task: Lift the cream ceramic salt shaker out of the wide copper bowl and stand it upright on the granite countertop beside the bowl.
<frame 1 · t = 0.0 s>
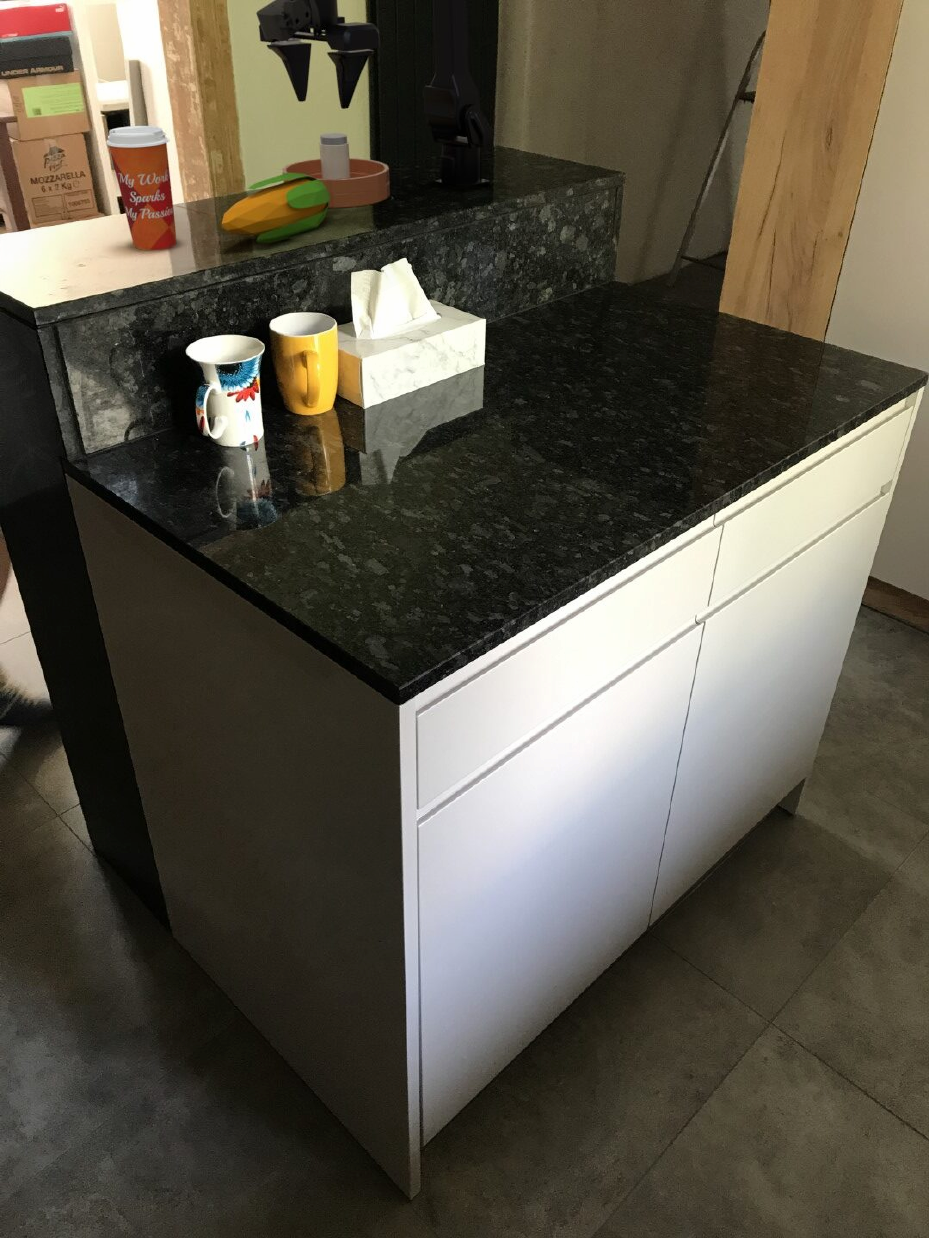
hand: (323, 105, 139), 15 cm above the countertop, tool pointing down, fingers open, 9 cm apart
paper cup: (156, 246, 134), on the countertop
shaker: (337, 195, 155), point 1 cm above the countertop, touching bowl
bowl: (337, 199, 155), on the countertop
corn: (280, 238, 137), on the countertop
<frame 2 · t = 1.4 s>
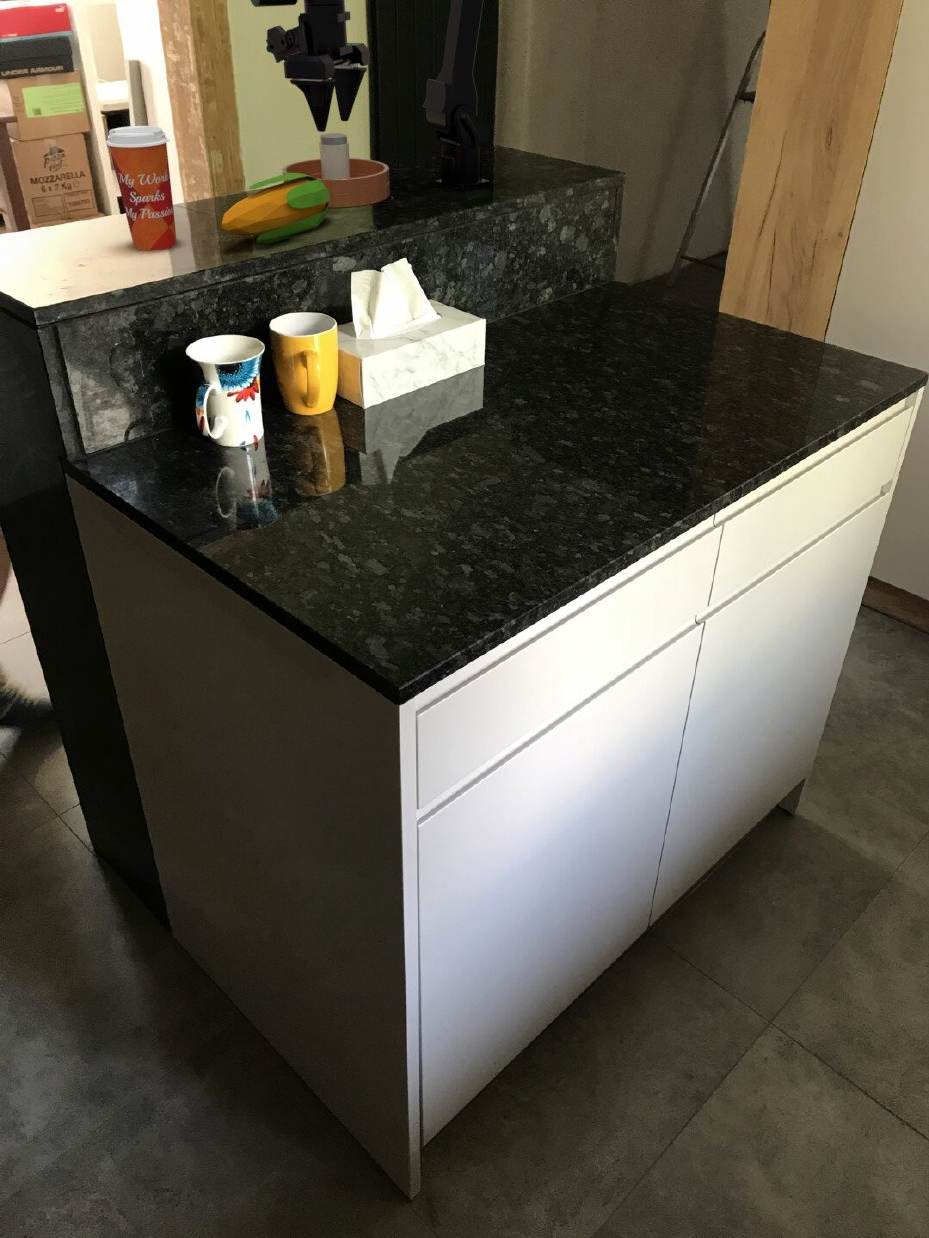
hand: (333, 126, 149), 10 cm above the countertop, tool pointing down, fingers open, 9 cm apart
nothing on the countertop moved.
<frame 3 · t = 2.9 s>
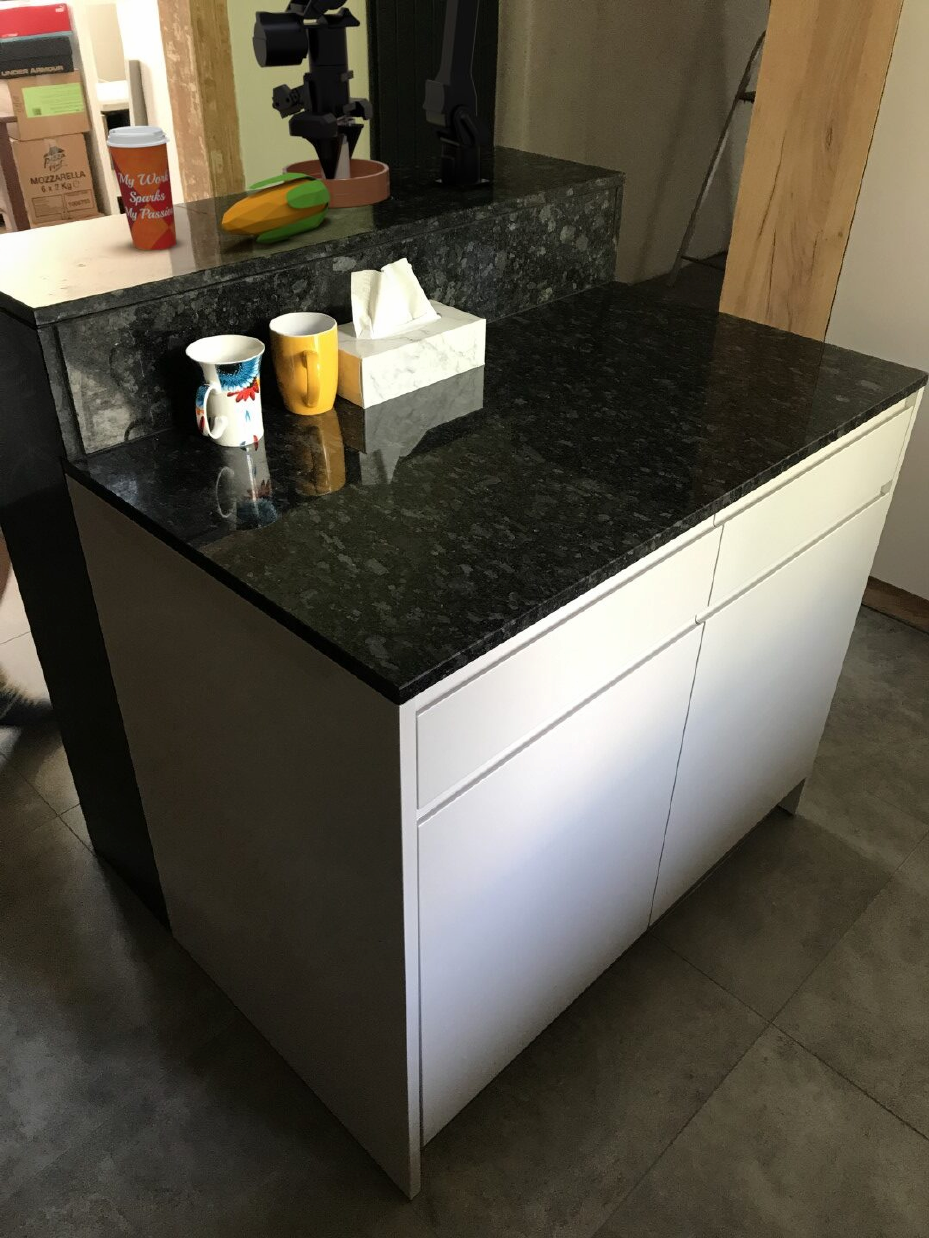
hand: (336, 178, 154), 3 cm above the countertop, tool pointing down, fingers closed on shaker, 4 cm apart
shaker: (337, 195, 155), point 1 cm above the countertop, touching bowl, gripper
everything else where it was.
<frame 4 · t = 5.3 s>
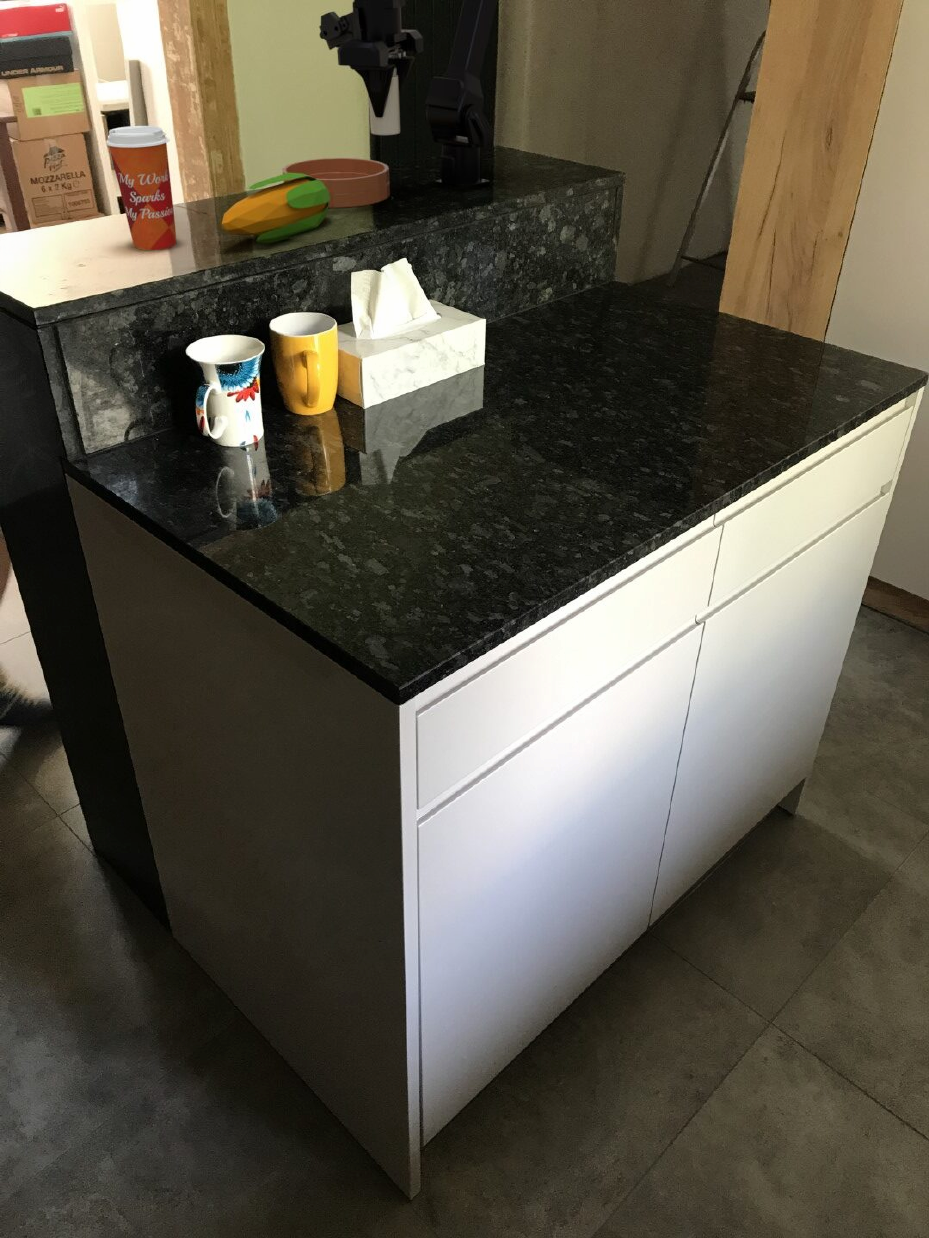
hand: (385, 114, 147), 12 cm above the countertop, tool pointing down, fingers closed on shaker, 4 cm apart
shaker: (385, 132, 148), point 10 cm above the countertop, touching gripper
everything else where it was.
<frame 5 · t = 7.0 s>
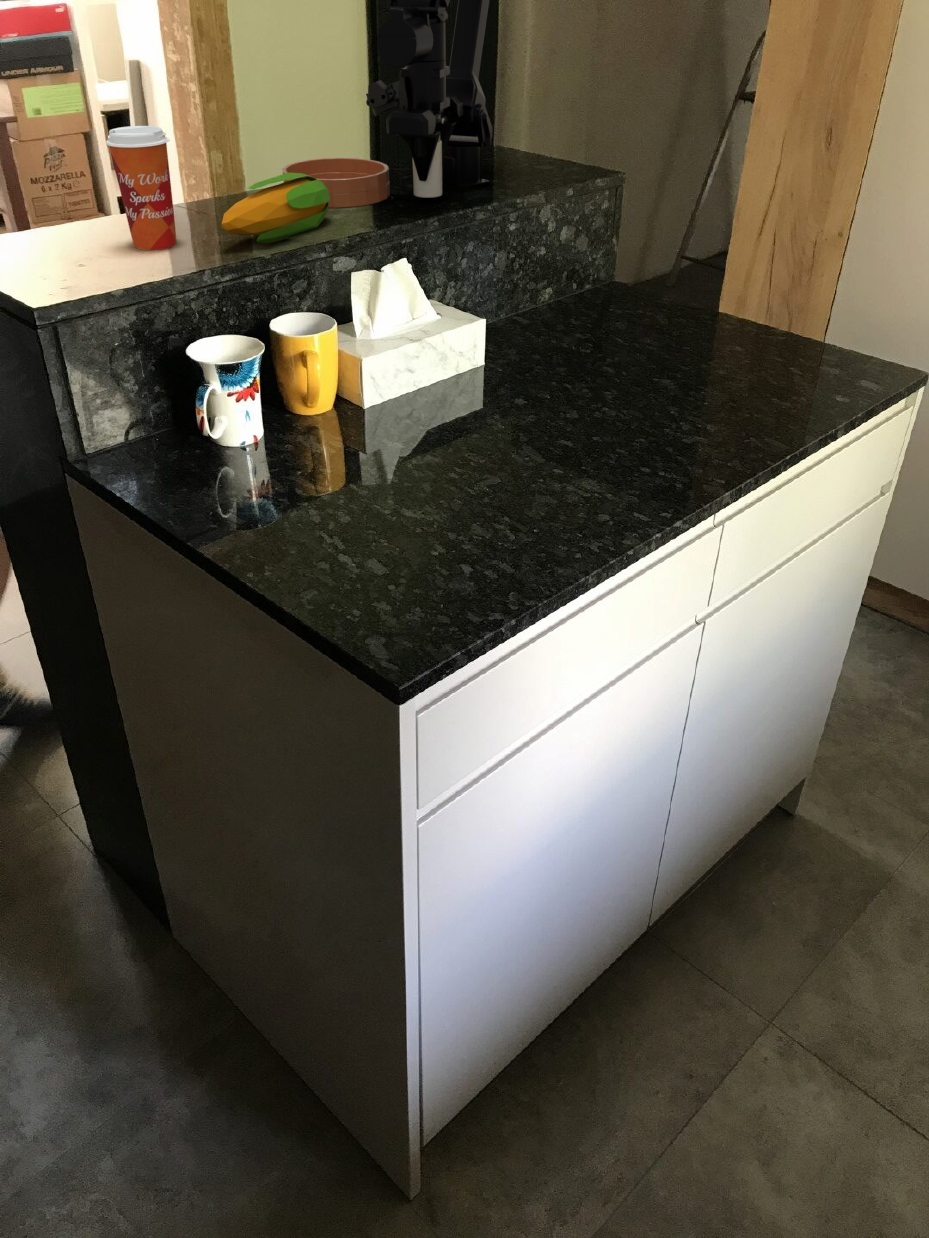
hand: (427, 177, 150), 4 cm above the countertop, tool pointing down, fingers closed on shaker, 4 cm apart
shaker: (428, 194, 151), point 2 cm above the countertop, touching gripper
everything else where it was.
when the fingers open (2 cm above the countertop, at t = 7.9 s): shaker stays where it is, on the countertop.
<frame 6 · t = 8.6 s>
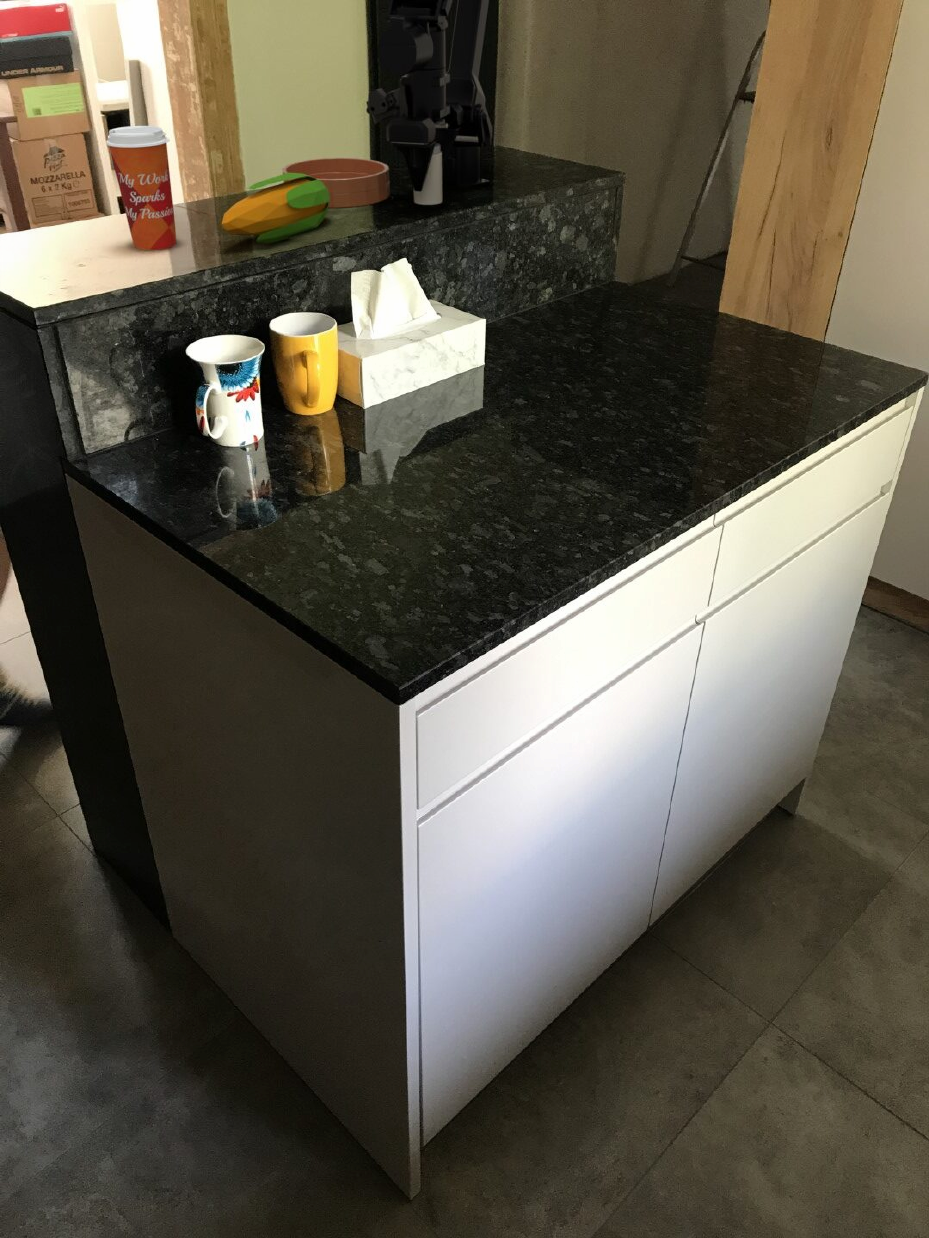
hand: (427, 184, 151), 3 cm above the countertop, tool pointing down, fingers open, 9 cm apart
shaker: (428, 205, 152), on the countertop
everything else where it was.
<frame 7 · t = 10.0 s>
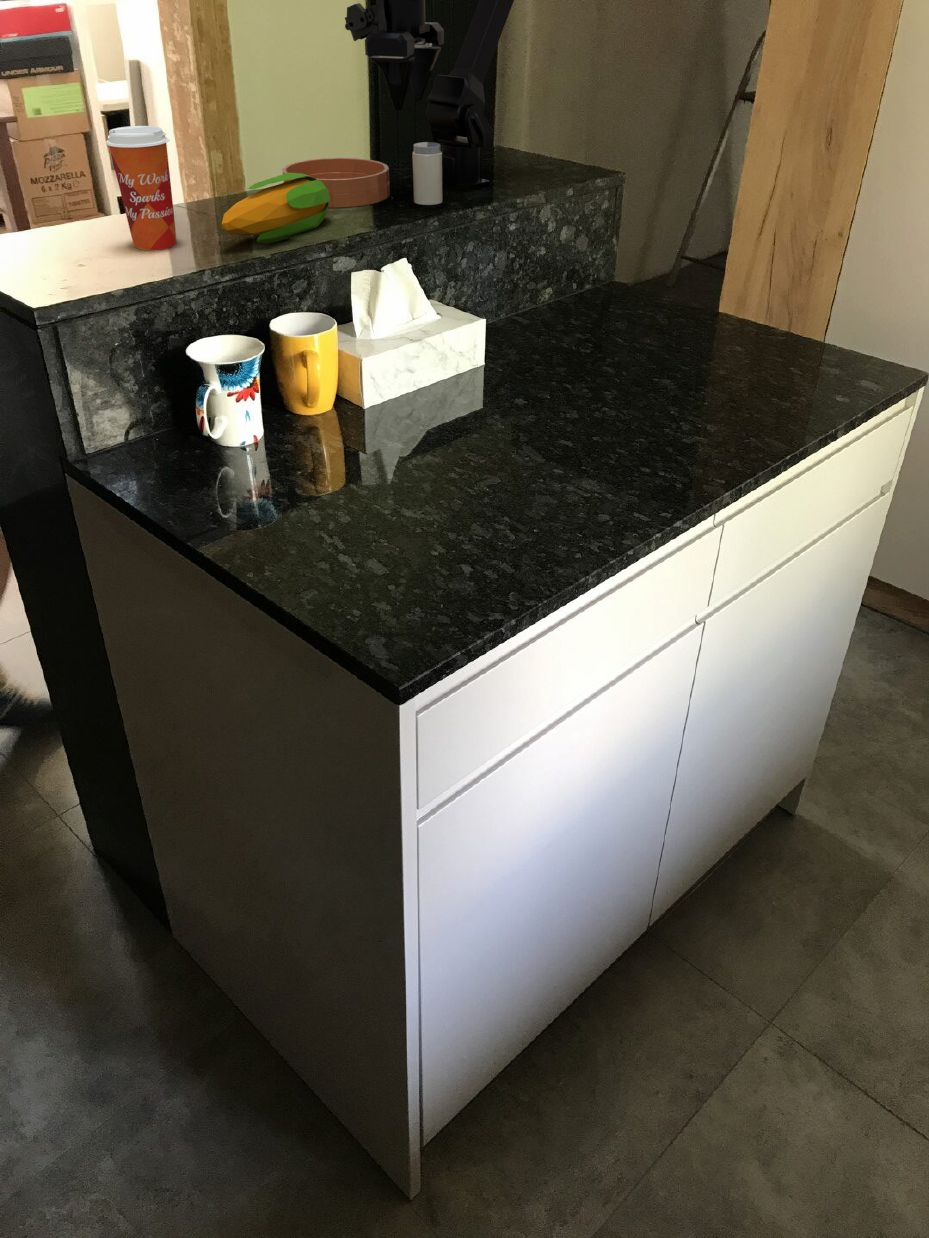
hand: (408, 105, 149), 13 cm above the countertop, tool pointing down, fingers open, 9 cm apart
nothing on the countertop moved.
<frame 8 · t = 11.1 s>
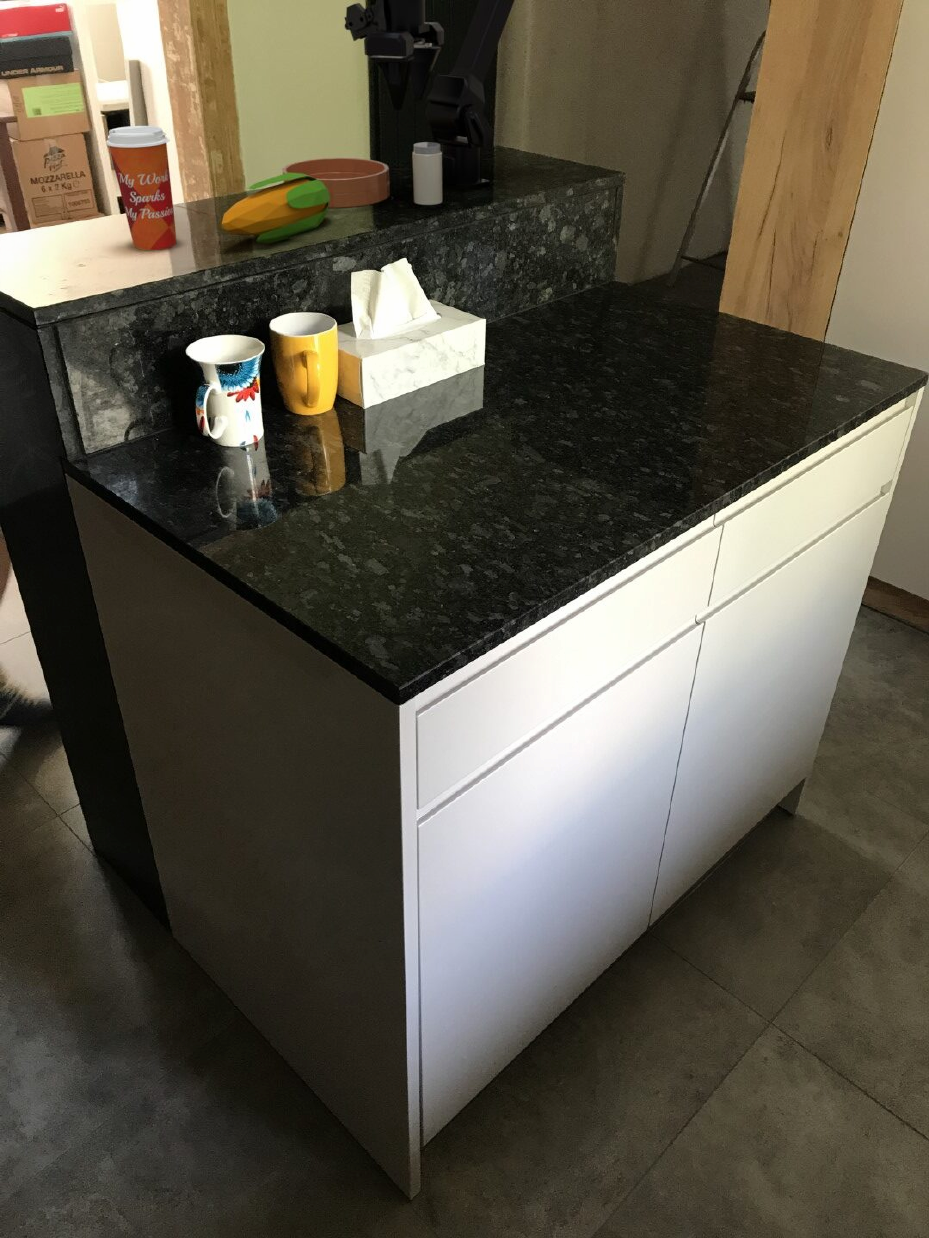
hand: (407, 105, 149), 13 cm above the countertop, tool pointing down, fingers open, 9 cm apart
nothing on the countertop moved.
at the end: shaker inside the target area (0.0 cm from its centre), on the countertop; shaker tilted 0°; the gripper is holding nothing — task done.
